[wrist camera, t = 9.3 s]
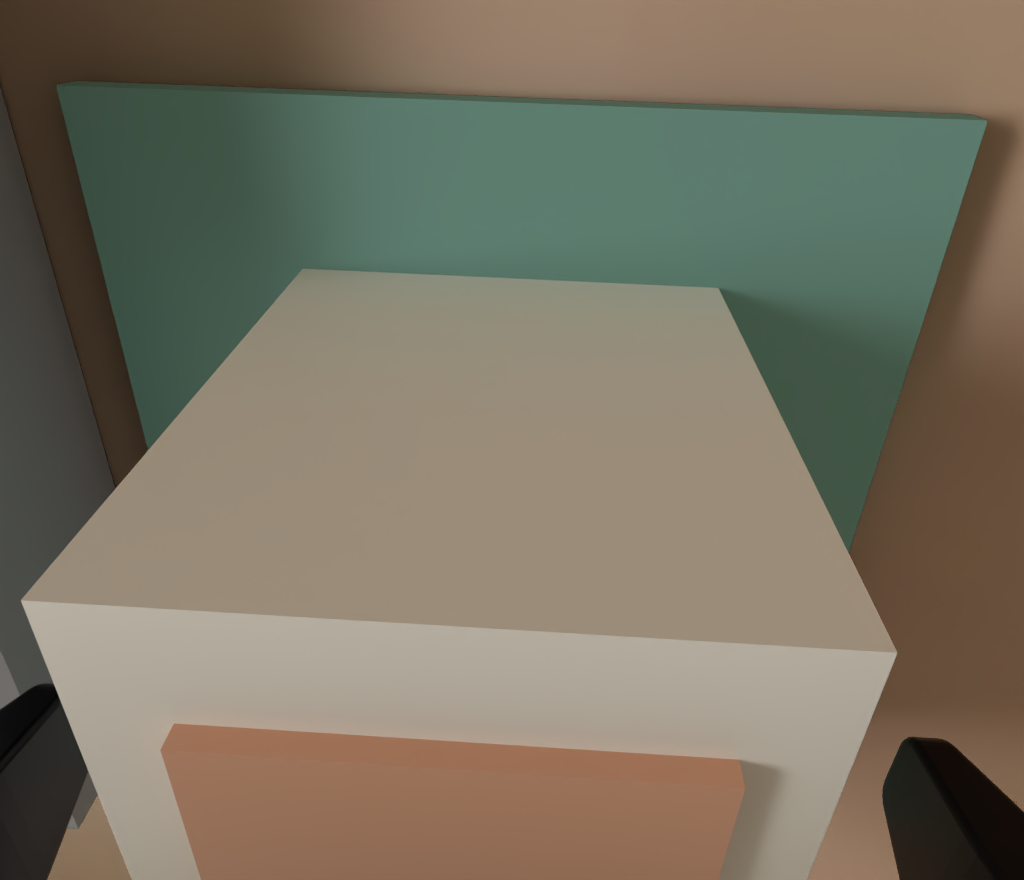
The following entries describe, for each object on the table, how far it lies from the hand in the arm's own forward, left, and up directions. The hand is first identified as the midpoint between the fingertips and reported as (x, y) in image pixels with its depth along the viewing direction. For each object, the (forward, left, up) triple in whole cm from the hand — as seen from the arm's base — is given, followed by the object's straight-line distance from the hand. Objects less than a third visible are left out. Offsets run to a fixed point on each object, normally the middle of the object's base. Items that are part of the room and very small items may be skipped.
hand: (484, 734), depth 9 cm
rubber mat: (0, 0, -4) cm, 4 cm away
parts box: (0, 0, -3) cm, 3 cm away
